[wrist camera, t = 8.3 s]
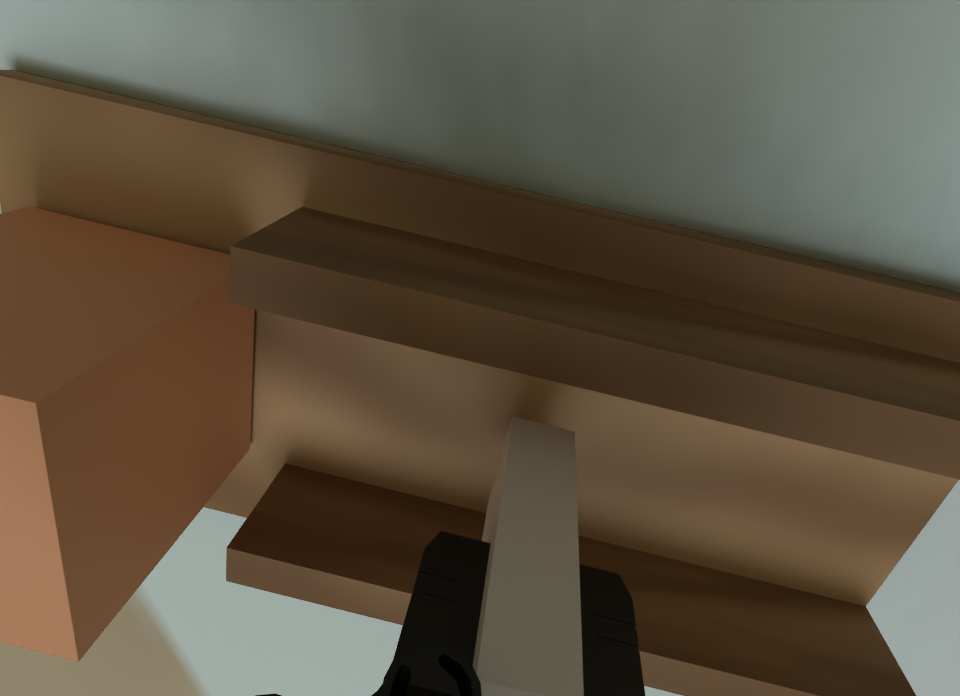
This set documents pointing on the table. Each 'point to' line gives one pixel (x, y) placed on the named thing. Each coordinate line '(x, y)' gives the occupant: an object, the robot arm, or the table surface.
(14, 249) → the block
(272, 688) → the table surface
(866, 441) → the chute
